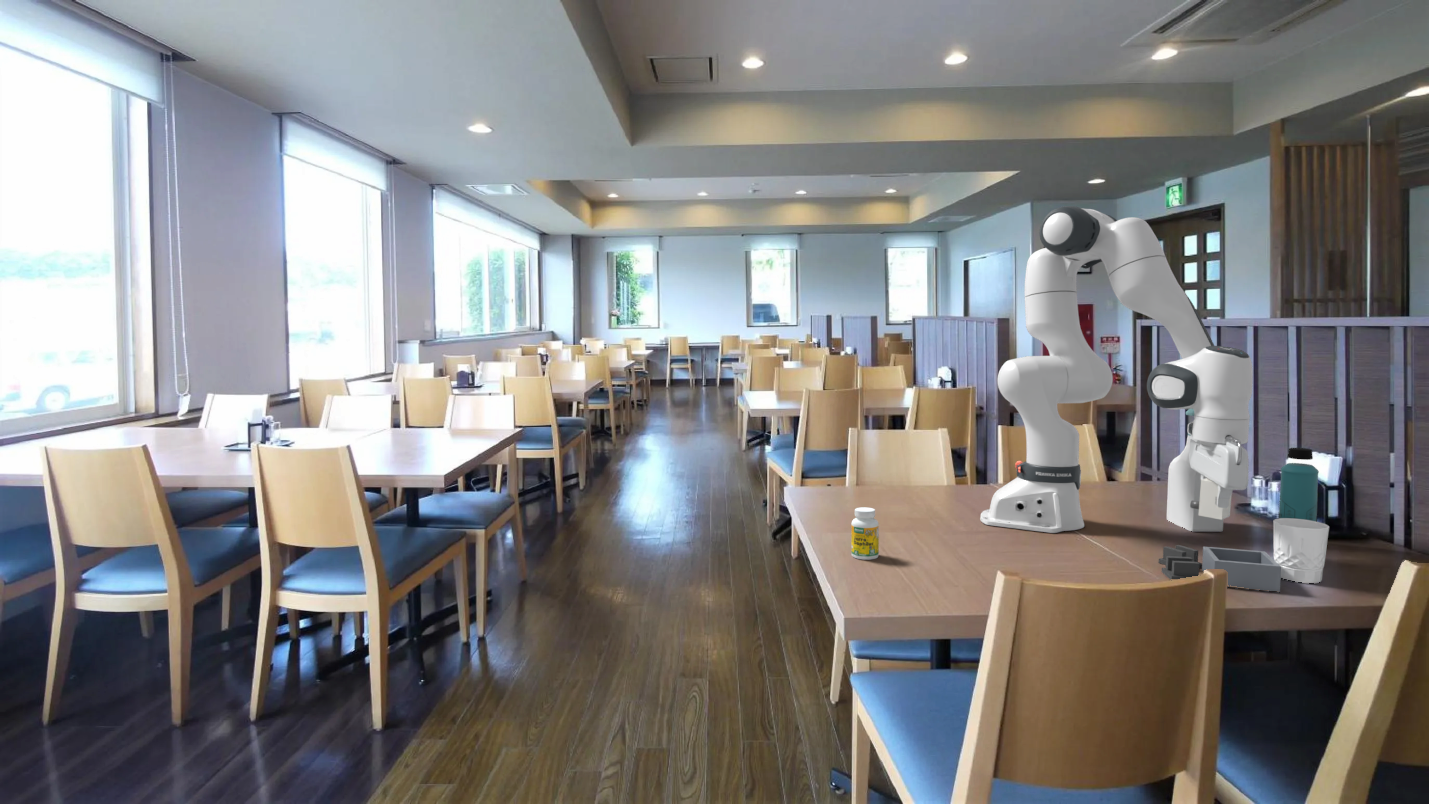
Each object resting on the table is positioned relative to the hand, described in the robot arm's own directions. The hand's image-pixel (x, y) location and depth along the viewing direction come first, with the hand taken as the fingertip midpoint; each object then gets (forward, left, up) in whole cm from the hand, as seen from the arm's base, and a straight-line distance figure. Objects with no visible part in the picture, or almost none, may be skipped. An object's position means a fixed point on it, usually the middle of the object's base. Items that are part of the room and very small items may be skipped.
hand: (1214, 502), depth 148 cm
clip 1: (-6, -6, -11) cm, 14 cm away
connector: (0, 0, -3) cm, 3 cm away
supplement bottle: (-63, -21, -12) cm, 68 cm away
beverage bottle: (+19, +20, -12) cm, 29 cm away
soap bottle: (+3, +29, -12) cm, 31 cm away
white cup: (+12, -8, -12) cm, 18 cm away
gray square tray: (+2, -13, -11) cm, 18 cm away
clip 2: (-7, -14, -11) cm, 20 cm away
